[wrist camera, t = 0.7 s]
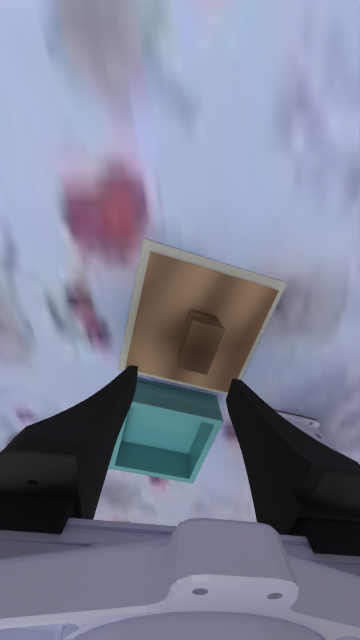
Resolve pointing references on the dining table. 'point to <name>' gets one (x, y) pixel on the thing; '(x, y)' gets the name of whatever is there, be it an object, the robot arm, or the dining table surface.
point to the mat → (200, 262)
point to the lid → (196, 323)
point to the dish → (167, 432)
